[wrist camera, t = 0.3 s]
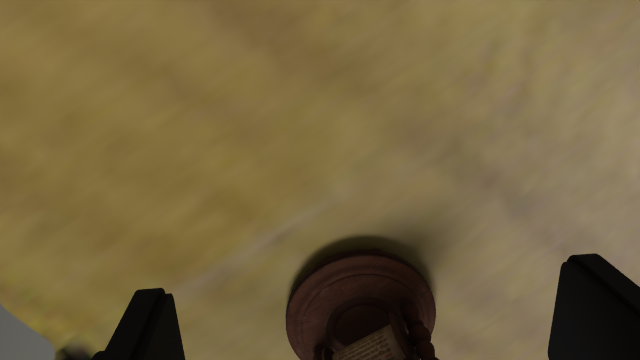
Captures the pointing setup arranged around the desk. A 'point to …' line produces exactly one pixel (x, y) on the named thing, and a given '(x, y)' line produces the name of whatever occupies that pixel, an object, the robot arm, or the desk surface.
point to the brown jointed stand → (362, 310)
